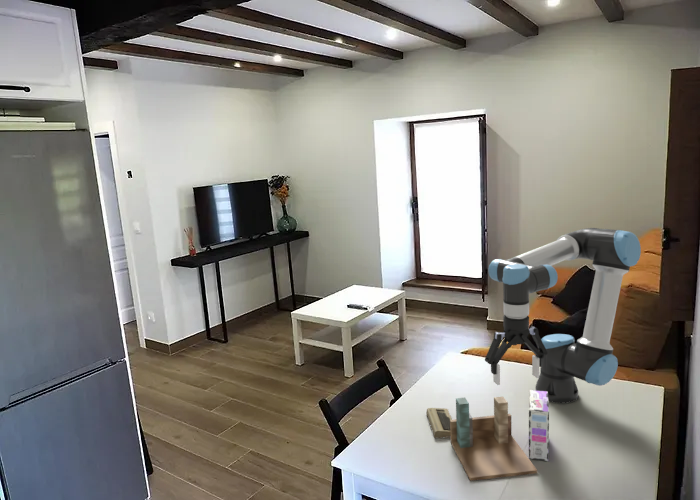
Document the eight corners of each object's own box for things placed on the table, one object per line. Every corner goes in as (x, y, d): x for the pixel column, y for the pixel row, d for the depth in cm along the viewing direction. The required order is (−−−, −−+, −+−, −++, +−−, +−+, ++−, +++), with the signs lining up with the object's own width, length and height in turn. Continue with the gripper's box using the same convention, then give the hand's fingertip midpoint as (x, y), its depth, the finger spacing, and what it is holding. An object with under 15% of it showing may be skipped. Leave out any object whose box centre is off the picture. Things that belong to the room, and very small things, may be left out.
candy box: (549, 462, 151) (549, 411, 148) (528, 459, 153) (528, 409, 150) (548, 437, 163) (548, 390, 160) (529, 434, 165) (529, 388, 162)
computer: (458, 437, 167) (458, 428, 167) (434, 439, 167) (434, 430, 167) (448, 414, 183) (448, 405, 182) (426, 415, 183) (426, 407, 182)
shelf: (510, 436, 165) (509, 391, 162) (537, 473, 146) (537, 422, 143) (450, 442, 164) (449, 397, 161) (470, 480, 144) (469, 430, 142)
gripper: (545, 306, 160) (544, 368, 164) (473, 316, 154) (474, 381, 158) (559, 313, 152) (559, 378, 156) (484, 324, 147) (485, 391, 151)
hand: (516, 379), depth 157 cm, fingers open, 13 cm apart
